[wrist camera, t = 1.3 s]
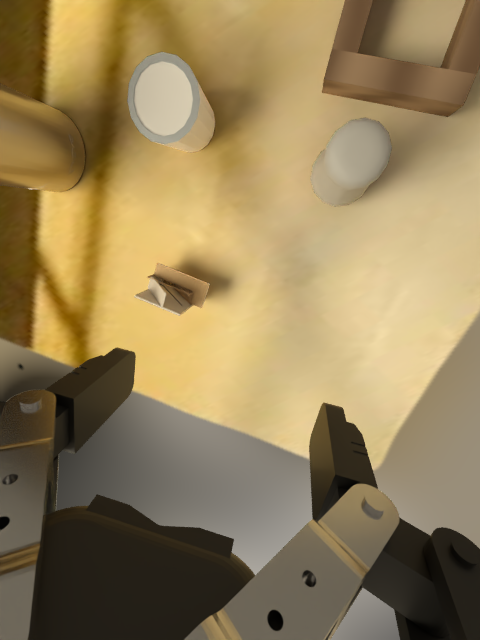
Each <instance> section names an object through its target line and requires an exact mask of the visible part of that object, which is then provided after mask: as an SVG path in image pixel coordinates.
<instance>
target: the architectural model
mask: <svg viewBox="0 0 480 640" xmlns="http://www.w3.org/2000/svg"><path fill="white" fill-rule="evenodd" d="M147 278H150V281H149V286H148V290H146V291H143V292H141V293H139V294H136V295H135V296H134V297H135V298H138V299H140V300H143V301H145V302H147V303H150V304H152V305H155V306H157V307H159V308H162V309H164V310H167V311H169V312H171V313H174V314H176V315H179V316H180V315H181V314H183V313H184V312H185V311H187V310H188V309H189V308H190V307H192V306H193V305H195V306H198V307H200V308H202V307H203V304H204V301H205V298H206V295H207V292H208V289H209V286H210V284H209V283H207V282H204V281H202V280H199V279H197V278H194V277H192V276H189V275H187V274H184V273H182V272H179V271H177V270H175V269H172V268H170V267H167V266H165V265H162V264H160V263H157V265H156V269H155V273H154V274H153V275H150V276H148V277H147ZM163 280H165V282H166V281H168V284H169V282H171V283H173V284H174V286H170V285H168V284H165V283H164V282H163ZM171 285H172V284H171Z"/></svg>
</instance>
